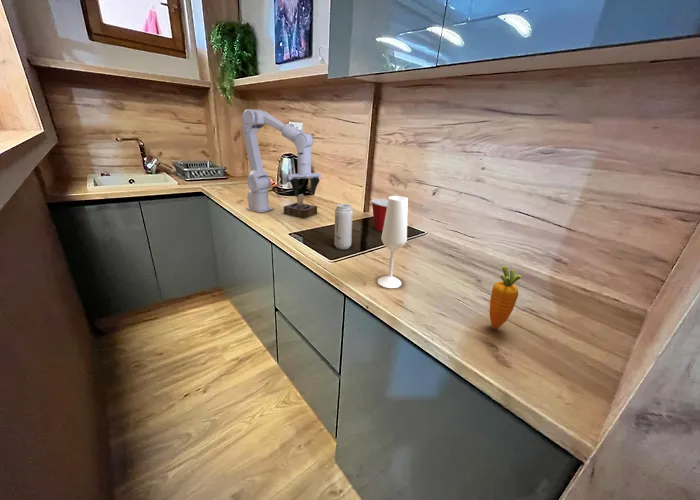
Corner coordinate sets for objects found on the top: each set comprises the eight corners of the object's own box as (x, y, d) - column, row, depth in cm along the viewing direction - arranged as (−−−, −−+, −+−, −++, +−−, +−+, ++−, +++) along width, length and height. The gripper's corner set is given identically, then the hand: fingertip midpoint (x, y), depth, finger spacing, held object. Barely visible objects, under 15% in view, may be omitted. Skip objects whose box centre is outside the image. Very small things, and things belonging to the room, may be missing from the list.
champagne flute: (406, 285, 84) (417, 200, 75) (386, 290, 81) (395, 202, 72) (392, 274, 89) (400, 194, 80) (373, 279, 86) (379, 196, 77)
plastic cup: (396, 234, 122) (399, 205, 118) (369, 233, 122) (371, 203, 118) (393, 225, 132) (396, 198, 127) (368, 224, 132) (370, 197, 128)
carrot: (511, 335, 65) (530, 274, 60) (489, 336, 65) (506, 274, 59) (499, 321, 70) (515, 263, 64) (478, 322, 70) (493, 263, 64)
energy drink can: (332, 244, 109) (332, 203, 103) (347, 242, 111) (349, 202, 105) (337, 250, 104) (338, 208, 98) (353, 249, 106) (355, 207, 100)
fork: (297, 214, 142) (296, 195, 138) (302, 212, 145) (301, 193, 141) (299, 214, 142) (298, 195, 138) (303, 212, 144) (303, 194, 141)
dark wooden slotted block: (283, 213, 142) (283, 206, 140) (297, 209, 150) (296, 202, 149) (304, 218, 137) (304, 210, 135) (317, 213, 145) (317, 206, 143)
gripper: (291, 165, 122) (292, 198, 128) (323, 164, 129) (323, 195, 134) (285, 163, 128) (286, 194, 133) (317, 162, 135) (317, 192, 140)
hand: (304, 195), depth 134 cm, fingers open, 7 cm apart
